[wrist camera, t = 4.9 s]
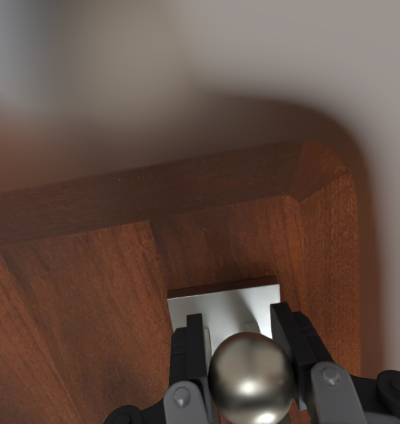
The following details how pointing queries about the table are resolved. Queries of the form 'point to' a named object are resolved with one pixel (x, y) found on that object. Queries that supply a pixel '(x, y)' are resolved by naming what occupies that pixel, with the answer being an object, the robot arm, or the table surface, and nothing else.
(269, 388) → the lever
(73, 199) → the table surface
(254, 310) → the switch bracket
